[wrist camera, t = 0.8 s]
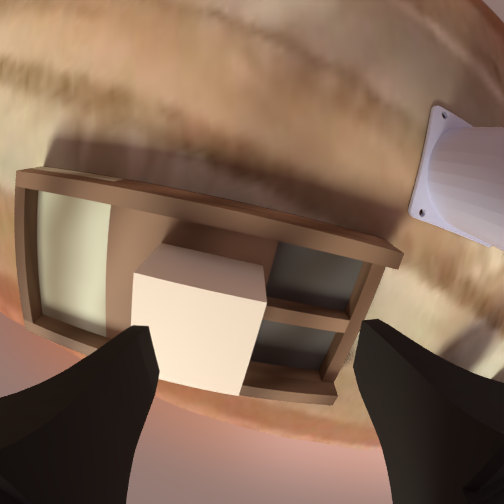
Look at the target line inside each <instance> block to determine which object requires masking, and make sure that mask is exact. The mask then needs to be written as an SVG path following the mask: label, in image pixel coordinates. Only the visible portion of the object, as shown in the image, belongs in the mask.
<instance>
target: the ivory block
mask: <svg viewBox="0 0 504 504" xmlns="http://www.w3.org/2000/svg"><path fill="white" fill-rule="evenodd" d="M266 304H267V298H266V288H265V279H264V270H263V265H259V264H254V263H250V262H245V261H241V260H236V259H231V258H227V257H222V256H218V255H213V254H209V253H204V252H200V251H195V250H191V249H187V248H182V247H178V246H173V245H169V244H164V243H161V244H160V245H159V246H158V247H157V248H156V249H155V250H154V251H153V252H152V253H151V254H150V255H149V256H148V258H147V259H146V260H145V261H144V262H143V263H142V264H141V265H140V266H139V267H138V268H137V269H136V271H135V272H134V275H133V290H132V310H131V326H132V325H139V326H149V330H150V334H151V338H152V343H153V347H154V351H155V355H156V359H157V362H158V366H159V370H160V373H159V378H158V379H161V380H165V381H169V382H173V383H177V384H181V385H186V386H190V387H195V388H199V389H204V390H209V391H214V392H219V393H225V394H230V395H236V396H239V393H240V390H241V387H242V383H243V380H244V377H245V374H246V371H247V368H248V364H249V361H250V358H251V355H252V351H253V348H254V345H255V341H256V338H257V335H258V331H259V328H260V325H261V321H262V318H263V315H264V311H265V308H266Z"/></svg>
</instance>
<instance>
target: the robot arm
mask: <svg viewBox="0 0 504 504" xmlns="http://www.w3.org/2000/svg"><path fill="white" fill-rule="evenodd" d="M442 113H443V114H444V118H443V117H442ZM421 209H422V214H421V215H419V212H420V210H421ZM408 213H409V215H410V216H411V217H413V218H416V219H419V220H421V221H424V222H427V223H430V224H432V225H435V226H438V227H440V228H443V229H446V230H448V231H451V232H453V233H456V234H458V235H461V236H463V237H466V238H468V239H471V240H473V241H475V242H478V243H480V244H482V245H485V246H487V247H492V246H494V247H496V248H498V249H500V250H502V251H504V127H473V126H472V125H470V124H469V123H467V122H466V121H464V120H463V119H461V118H459V117H458V116H456V115H455V114H453V113H451V112H450V111H448V110H446V109H444V108H443V107H441V106H439V105H436V106H433V107H432V108H431V113H430V119H429V124H428V130H427V135H426V140H425V144H424V149H423V154H422V158H421V162H420V166H419V171H418V175H417V178H416V182H415V186H414V190H413V193H412V197H411V201H410V204H409V207H408ZM353 368H354V372H355V376H356V380H357V384H358V388H359V391H360V393H361V396H362V398H363V401H364V403H365V406H366V408H367V411H368V413H369V415H370V418H371V420H372V423H373V425H374V428H375V430H376V433H377V435H378V437H379V440H380V443H381V446H382V450H383V454H384V458H385V462H386V466H387V471H388V476H389V481H390V487H391V493H392V501H393V504H504V383H501V382H497V381H494V380H491V379H488V378H485V377H482V376H480V375H477V374H474V373H472V372H470V371H467V370H465V369H463V368H461V367H458V366H456V365H454V364H452V363H450V362H448V361H446V360H444V359H443V358H441V357H439V356H437V355H436V354H434V353H432V352H430V351H429V350H427V349H425V348H424V347H422V346H420V345H419V344H417V343H416V342H414V341H413V340H411V339H410V338H408V337H406V336H405V335H403V334H402V333H400V332H399V331H397V330H396V329H394V328H393V327H391V326H389V325H388V324H386V323H385V322H383V321H381V320H379V319H372V320H362V323H361V329H360V334H359V340H358V345H357V350H356V355H355V360H354V364H353ZM159 373H160V370H159V366H158V362H157V359H156V355H155V351H154V347H153V343H152V338H151V334H150V330H149V326H139V325H132V326H130V327H129V328H127V329H126V330H124V331H123V332H121V333H120V334H118V335H117V336H115V337H114V338H113V339H111V340H110V341H108V342H107V343H106V344H104V345H103V346H101V347H100V348H99V349H97V350H96V351H94V352H93V353H91V354H90V355H88V356H87V357H85V358H84V359H82V360H81V361H79V362H78V363H76V364H74V365H73V366H72V367H70V368H69V369H67V370H65V371H63V372H61V373H60V374H58V375H56V376H54V377H52V378H50V379H48V380H46V381H44V382H42V383H40V384H37V385H35V386H32V387H30V388H27V389H25V390H23V391H20V392H17V393H14V394H11V395H8V396H4V397H1V398H0V504H126V497H127V491H128V483H129V477H130V472H131V467H132V462H133V457H134V453H135V449H136V446H137V443H138V440H139V437H140V434H141V431H142V429H143V426H144V423H145V421H146V418H147V415H148V412H149V410H150V407H151V404H152V401H153V399H154V396H155V392H156V387H157V383H158V378H159Z"/></svg>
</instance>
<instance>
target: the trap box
mask: <svg viewBox="0 0 504 504" xmlns="http://www.w3.org/2000/svg"><path fill="white" fill-rule="evenodd" d="M161 243H164V244H169V245H173V246H178V247H182V248H187V249H191V250H195V251H200V252H204V253H209V254H213V255H218V256H222V257H227V258H231V259H236V260H241V261H245V262H250V263H254V264H259V265H263V270H264V279H265V288H266V298H267V304H266V308H265V311H264V315H263V318H262V321H261V325H260V328H259V331H258V335H257V338H256V341H255V345H254V348H253V351H252V355H251V358H250V361H249V364H248V368H247V371H246V374H245V377H244V380H243V383H242V387H241V390H240V393H239V395H242V396H249V397H255V398H263V399H270V400H278V401H287V402H297V403H309V404H322V405H333V404H334V402H335V400H336V399H337V397H338V395H337V392H336V389H335V385H334V381H335V379H336V377H337V375H338V373H339V371H340V369H341V367H342V365H343V363H344V361H345V359H346V357H347V355H348V353H349V351H350V349H351V347H352V345H353V343H354V341H355V339H356V337H357V334H358V332H359V330H360V328H361V323H362V320H364V319H365V317H366V314H367V312H368V310H369V307H370V305H371V302H372V300H373V298H374V295H375V293H376V290H377V288H378V285H379V283H380V280H381V278H382V275H383V272H384V270H385V267H390V268H394V269H398V268H399V266H400V263H401V260H402V258H403V255H404V253H403V252H401V251H400V250H398V249H397V248H396V247H394V246H393V245H392V244H390V243H389V242H387V241H386V240H384V239H382V238H379V237H375V236H372V235H368V234H365V233H361V232H357V231H354V230H350V229H346V228H343V227H339V226H335V225H331V224H328V223H324V222H320V221H316V220H312V219H308V218H304V217H300V216H296V215H292V214H288V213H284V212H280V211H276V210H272V209H267V208H263V207H259V206H254V205H250V204H246V203H241V202H237V201H232V200H228V199H223V198H219V197H214V196H209V195H204V194H200V193H195V192H190V191H185V190H180V189H175V188H170V187H165V186H160V185H154V184H149V183H144V182H138V181H132V180H127V179H121V178H115V177H109V176H103V175H97V174H91V173H85V172H78V171H72V170H65V169H58V168H51V167H36V168H30V169H24V170H18V171H16V185H15V251H16V265H17V276H18V285H19V293H20V300H21V306H22V312H23V318H24V323H25V328H26V330H28V331H30V332H32V333H34V334H37V335H39V336H41V337H43V338H45V339H48V340H50V341H52V342H55V343H57V344H59V345H62V346H64V347H67V348H69V349H72V350H74V351H77V352H80V353H82V354H85V355H90V354H91V353H93V352H94V351H96V350H97V349H99V348H100V347H101V346H103V345H104V344H106V343H107V342H108V341H110V340H111V339H113V338H114V337H115V336H117V335H118V334H120V333H121V332H123V331H124V330H126V329H127V328H129V327H130V326H131V310H132V290H133V275H134V272H135V271H136V269H137V268H138V267H139V266H140V265H141V264H142V263H143V262H144V261H145V260H146V259H147V258H148V256H149V255H150V254H151V253H152V252H153V251H154V250H155V249H156V248H157V247H158V246H159V245H160V244H161Z"/></svg>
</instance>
